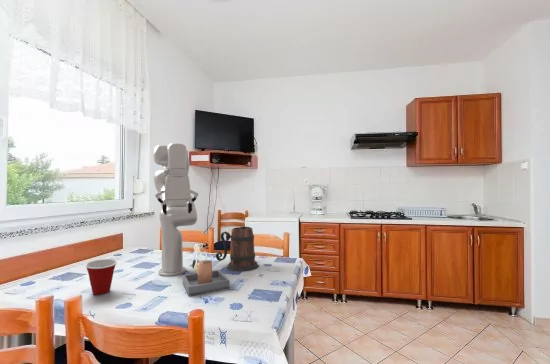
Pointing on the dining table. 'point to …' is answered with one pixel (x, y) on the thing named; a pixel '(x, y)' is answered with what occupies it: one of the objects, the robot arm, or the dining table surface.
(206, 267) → the tan cylinder
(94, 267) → the plastic cup
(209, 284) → the tray
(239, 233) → the tankard
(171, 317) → the dining table surface
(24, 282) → the dining table surface
